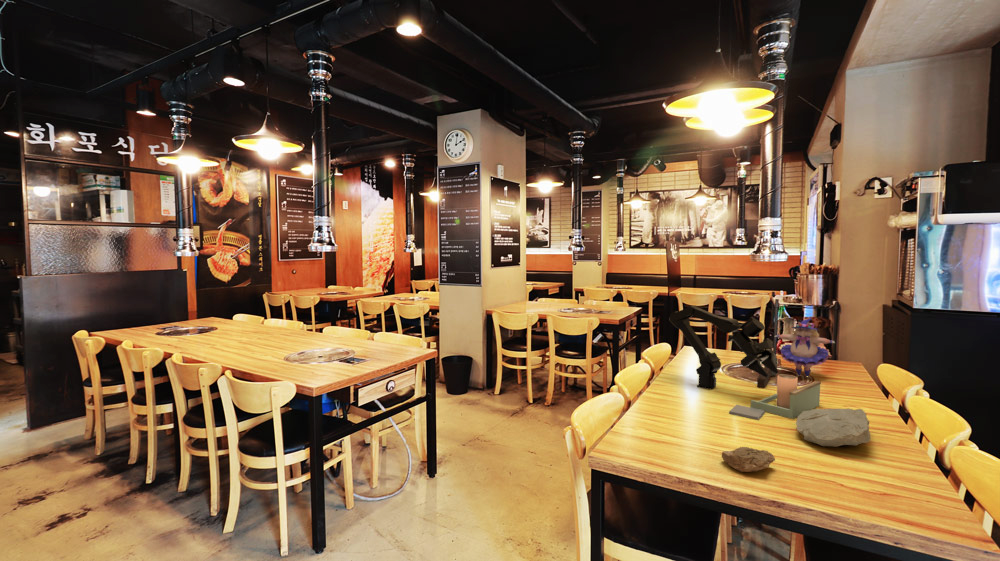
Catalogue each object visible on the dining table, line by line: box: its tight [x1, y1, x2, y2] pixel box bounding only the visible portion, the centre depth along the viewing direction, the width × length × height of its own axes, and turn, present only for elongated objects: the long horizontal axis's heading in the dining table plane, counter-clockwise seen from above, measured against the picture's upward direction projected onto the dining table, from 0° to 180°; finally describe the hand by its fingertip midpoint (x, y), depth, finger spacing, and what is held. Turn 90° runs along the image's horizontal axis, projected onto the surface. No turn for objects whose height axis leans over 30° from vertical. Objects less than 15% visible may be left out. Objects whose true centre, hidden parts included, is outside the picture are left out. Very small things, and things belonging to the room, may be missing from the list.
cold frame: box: [750, 380, 822, 420], centre depth 184 cm, size 15×25×10 cm, turn 126°
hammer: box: [756, 353, 778, 389], centre depth 221 cm, size 5×11×30 cm
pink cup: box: [775, 373, 799, 409], centre depth 183 cm, size 7×7×12 cm
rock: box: [721, 446, 776, 473], centre depth 132 cm, size 13×11×5 cm
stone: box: [795, 408, 871, 448], centre depth 154 cm, size 33×9×20 cm
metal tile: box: [728, 404, 766, 421], centre depth 176 cm, size 10×10×1 cm
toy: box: [774, 317, 836, 377], centre depth 227 cm, size 25×21×30 cm
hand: (772, 374), depth 187 cm, fingers open, 9 cm apart
